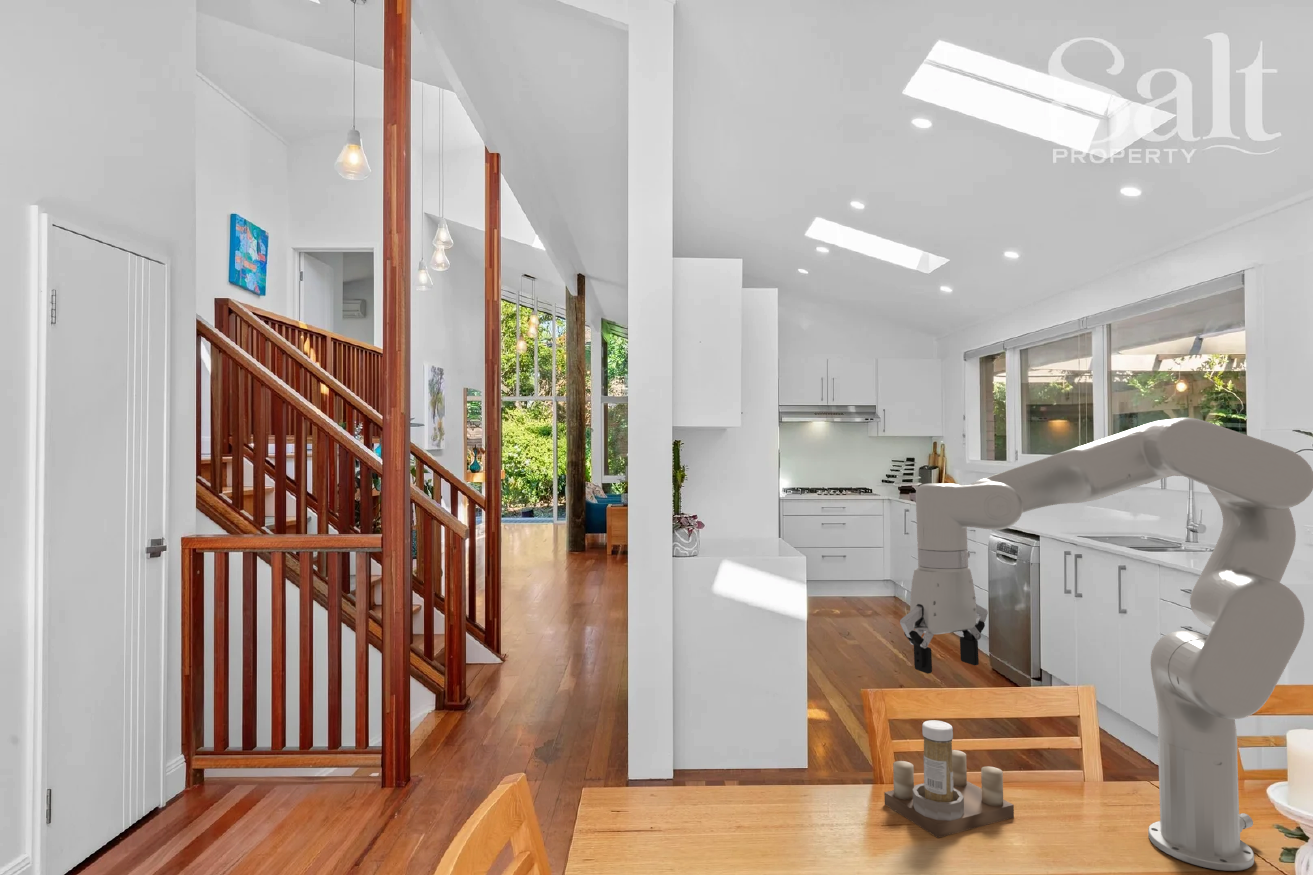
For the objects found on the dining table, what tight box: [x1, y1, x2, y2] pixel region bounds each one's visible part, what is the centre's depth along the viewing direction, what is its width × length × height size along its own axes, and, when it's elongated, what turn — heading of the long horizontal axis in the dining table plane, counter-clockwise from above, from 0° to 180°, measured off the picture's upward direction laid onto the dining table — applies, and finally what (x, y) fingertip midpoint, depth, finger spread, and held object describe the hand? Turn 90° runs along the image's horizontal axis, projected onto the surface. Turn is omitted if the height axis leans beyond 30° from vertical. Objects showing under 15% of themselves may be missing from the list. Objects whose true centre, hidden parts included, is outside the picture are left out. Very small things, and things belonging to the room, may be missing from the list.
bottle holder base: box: [883, 749, 1015, 839], centre depth 121 cm, size 16×12×7 cm
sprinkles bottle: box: [921, 719, 954, 802], centre depth 117 cm, size 5×5×13 cm
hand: (946, 667), depth 117 cm, fingers open, 9 cm apart
